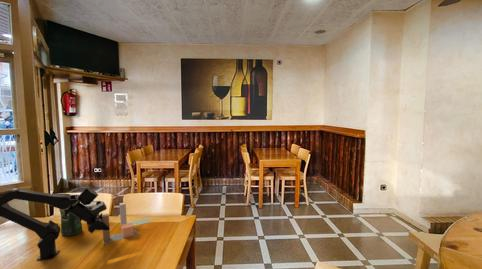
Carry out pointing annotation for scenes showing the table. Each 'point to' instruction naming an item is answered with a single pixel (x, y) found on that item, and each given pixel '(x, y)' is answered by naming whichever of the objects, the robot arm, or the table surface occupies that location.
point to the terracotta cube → (127, 230)
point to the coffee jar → (70, 224)
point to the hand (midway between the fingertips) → (109, 228)
